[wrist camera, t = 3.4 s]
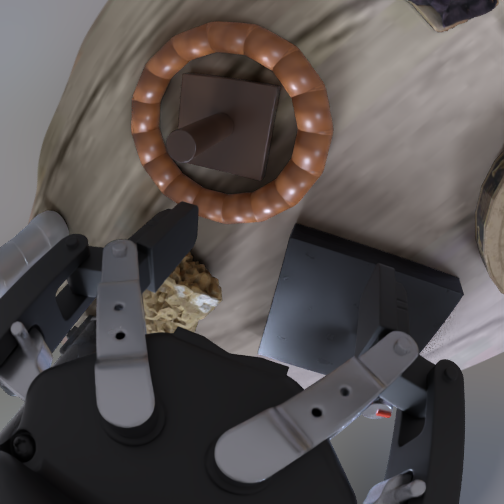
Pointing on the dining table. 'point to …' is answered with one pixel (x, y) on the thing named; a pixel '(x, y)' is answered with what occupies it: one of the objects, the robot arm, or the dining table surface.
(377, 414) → the hob knob
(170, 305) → the sponge
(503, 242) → the tan disc
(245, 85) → the peg
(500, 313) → the dining table surface
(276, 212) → the brown segmented ring
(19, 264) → the plastic bottle
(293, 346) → the hob
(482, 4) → the bread roll
